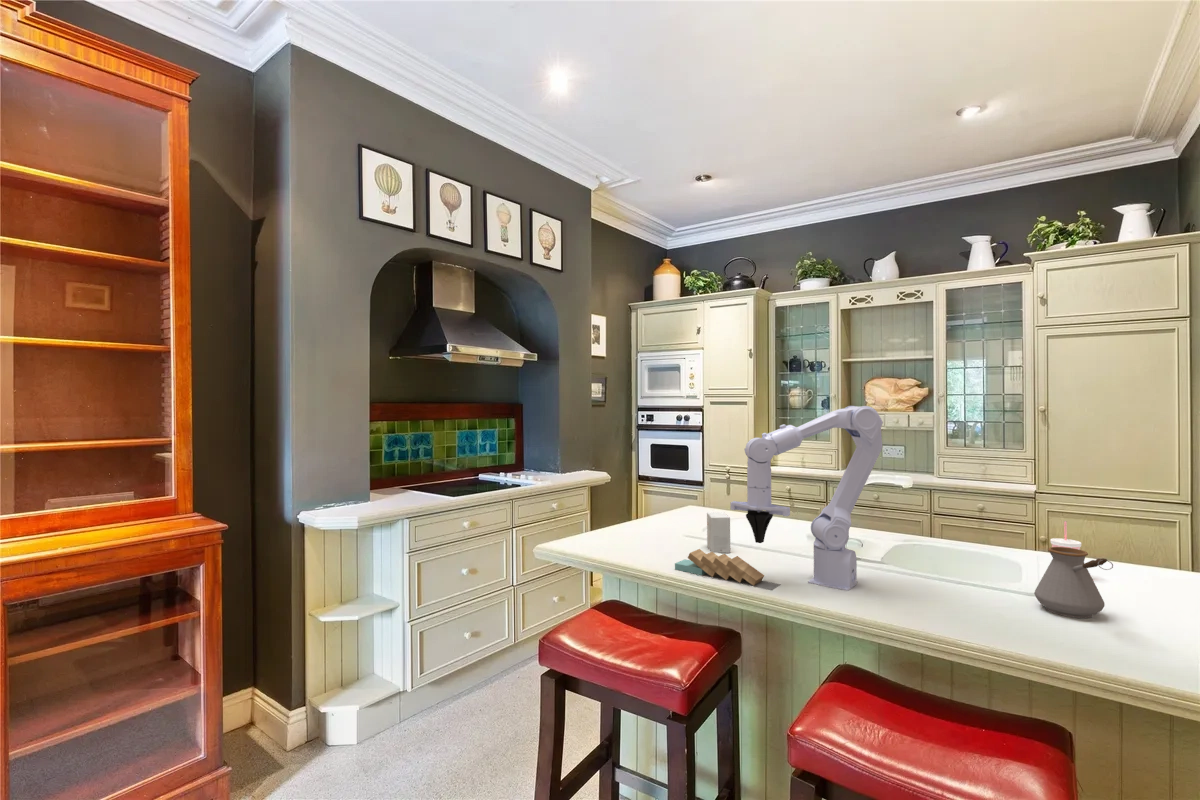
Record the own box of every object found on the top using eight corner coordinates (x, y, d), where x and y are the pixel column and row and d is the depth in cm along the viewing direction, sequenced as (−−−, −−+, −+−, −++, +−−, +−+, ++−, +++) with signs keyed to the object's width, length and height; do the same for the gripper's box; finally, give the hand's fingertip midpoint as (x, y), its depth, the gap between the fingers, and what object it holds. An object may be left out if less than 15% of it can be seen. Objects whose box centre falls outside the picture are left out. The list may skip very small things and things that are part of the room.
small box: (730, 553, 168) (730, 517, 168) (711, 553, 168) (711, 517, 168) (725, 546, 176) (725, 512, 176) (706, 546, 176) (706, 512, 176)
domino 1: (724, 567, 147) (699, 548, 152) (714, 572, 143) (689, 552, 148) (721, 572, 148) (697, 553, 152) (712, 577, 144) (687, 557, 148)
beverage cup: (1072, 581, 141) (1071, 524, 141) (1045, 574, 146) (1044, 519, 146) (1087, 578, 143) (1087, 522, 143) (1060, 572, 149) (1059, 517, 149)
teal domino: (711, 564, 150) (684, 559, 155) (701, 568, 146) (674, 563, 151) (711, 570, 150) (684, 565, 155) (701, 575, 146) (674, 569, 151)
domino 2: (737, 570, 145) (711, 551, 149) (729, 575, 141) (702, 555, 145) (735, 575, 145) (709, 556, 150) (726, 580, 141) (700, 560, 146)
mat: (781, 585, 138) (781, 584, 138) (771, 591, 134) (771, 590, 134) (703, 569, 151) (703, 568, 151) (692, 574, 147) (692, 573, 147)
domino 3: (750, 572, 143) (724, 553, 147) (742, 577, 139) (715, 557, 143) (748, 577, 143) (721, 558, 148) (739, 582, 139) (712, 562, 144)
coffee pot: (1025, 599, 128) (1025, 532, 128) (1088, 605, 124) (1087, 536, 124) (1069, 637, 108) (1069, 557, 108) (1146, 645, 104) (1145, 562, 104)
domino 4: (764, 575, 141) (737, 555, 145) (756, 580, 137) (728, 560, 141) (761, 580, 141) (734, 561, 146) (753, 585, 137) (726, 565, 142)
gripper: (724, 486, 143) (725, 540, 143) (782, 491, 134) (782, 549, 134) (737, 482, 148) (737, 535, 148) (792, 487, 139) (793, 543, 139)
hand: (759, 542), depth 141 cm, fingers closed
